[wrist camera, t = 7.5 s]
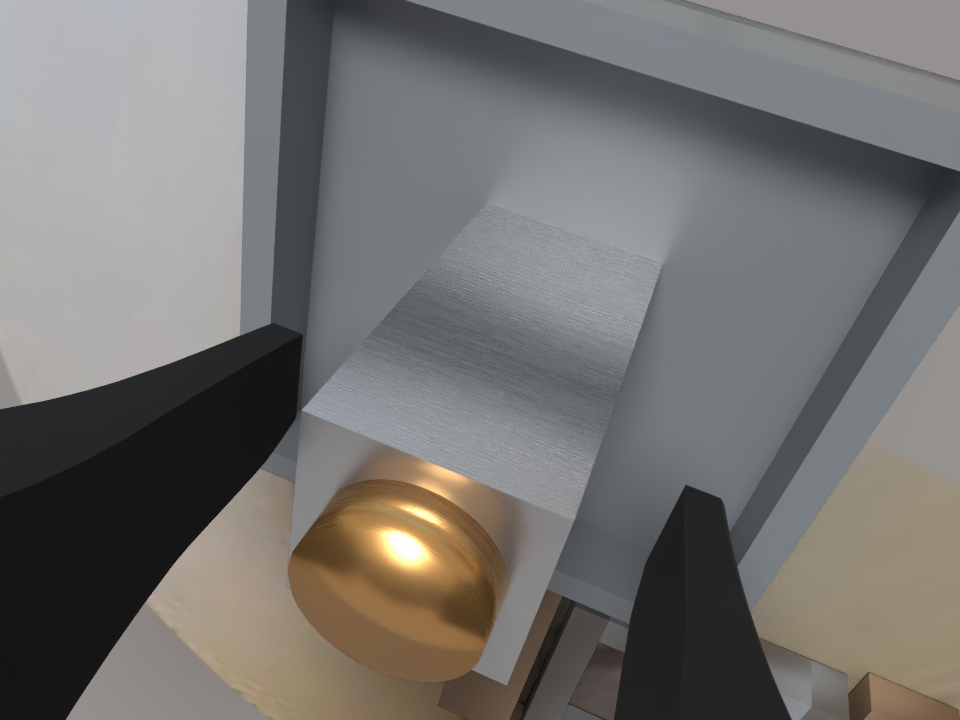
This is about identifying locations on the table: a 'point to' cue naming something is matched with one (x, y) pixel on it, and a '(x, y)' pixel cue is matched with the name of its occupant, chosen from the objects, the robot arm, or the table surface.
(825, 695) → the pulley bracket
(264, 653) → the table surface
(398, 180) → the tray
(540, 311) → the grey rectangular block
